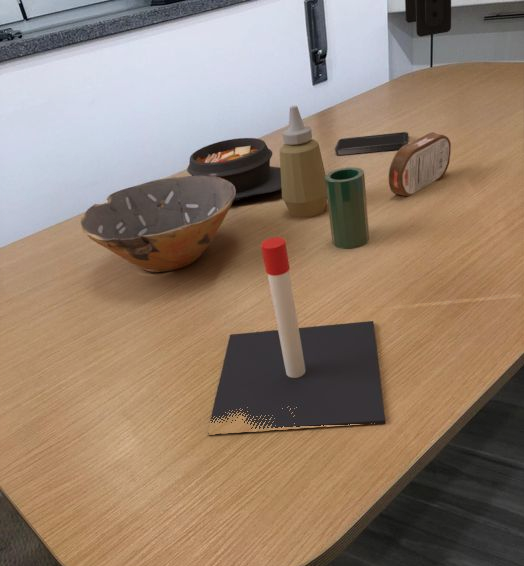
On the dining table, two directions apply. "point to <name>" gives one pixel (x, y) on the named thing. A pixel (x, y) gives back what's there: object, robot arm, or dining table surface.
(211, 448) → the dining table surface
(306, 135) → the squeeze bottle
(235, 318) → the dining table surface
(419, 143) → the tin
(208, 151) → the casserole
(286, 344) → the rod
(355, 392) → the mat
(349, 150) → the phone
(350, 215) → the pen holder
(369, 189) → the dining table surface
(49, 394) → the dining table surface
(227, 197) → the bowl
